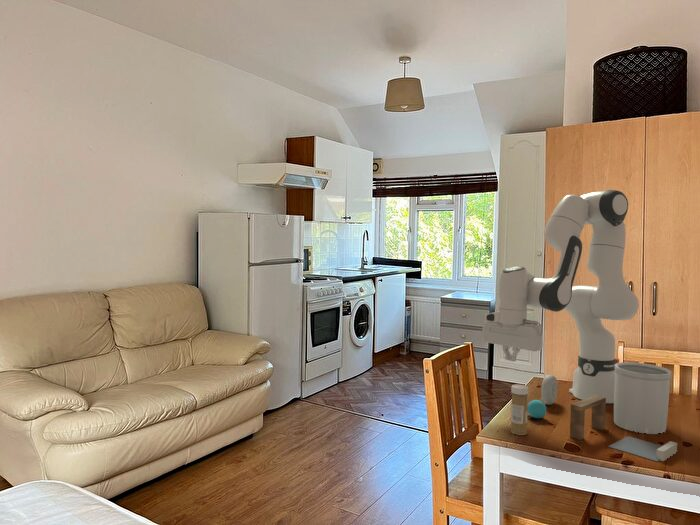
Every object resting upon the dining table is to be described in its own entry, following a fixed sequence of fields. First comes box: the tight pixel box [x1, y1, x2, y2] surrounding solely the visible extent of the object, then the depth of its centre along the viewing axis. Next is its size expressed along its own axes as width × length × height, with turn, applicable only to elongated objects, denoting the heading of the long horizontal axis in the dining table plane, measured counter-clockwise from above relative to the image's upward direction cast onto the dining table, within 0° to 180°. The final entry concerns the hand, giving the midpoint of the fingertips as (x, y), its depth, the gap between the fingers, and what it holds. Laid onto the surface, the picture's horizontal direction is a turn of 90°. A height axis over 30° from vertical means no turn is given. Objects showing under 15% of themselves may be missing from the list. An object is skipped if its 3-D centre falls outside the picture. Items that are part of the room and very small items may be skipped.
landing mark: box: [608, 435, 663, 463], centre depth 140 cm, size 12×12×1 cm
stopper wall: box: [656, 440, 678, 462], centre depth 135 cm, size 9×2×2 cm, turn 130°
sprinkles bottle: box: [510, 383, 529, 436], centre depth 150 cm, size 5×5×13 cm
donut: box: [540, 374, 559, 406], centre depth 177 cm, size 10×4×10 cm, turn 143°
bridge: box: [569, 395, 607, 441], centre depth 151 cm, size 3×14×9 cm, turn 130°
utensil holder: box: [613, 361, 673, 435], centre depth 157 cm, size 15×15×18 cm
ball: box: [527, 399, 547, 419], centre depth 163 cm, size 6×6×6 cm
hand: (510, 360), depth 170 cm, fingers closed
